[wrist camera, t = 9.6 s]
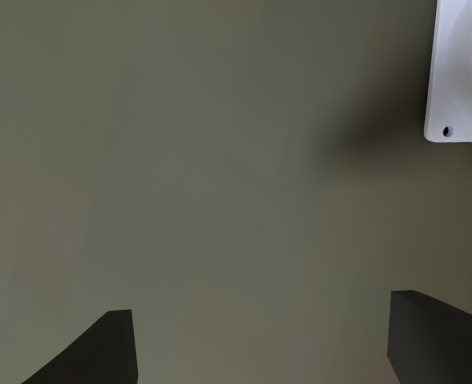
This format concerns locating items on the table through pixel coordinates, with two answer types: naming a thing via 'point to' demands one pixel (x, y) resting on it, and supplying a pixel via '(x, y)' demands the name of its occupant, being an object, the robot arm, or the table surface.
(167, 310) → the table surface
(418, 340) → the robot arm
